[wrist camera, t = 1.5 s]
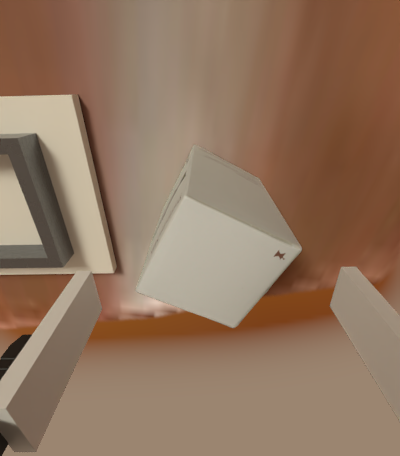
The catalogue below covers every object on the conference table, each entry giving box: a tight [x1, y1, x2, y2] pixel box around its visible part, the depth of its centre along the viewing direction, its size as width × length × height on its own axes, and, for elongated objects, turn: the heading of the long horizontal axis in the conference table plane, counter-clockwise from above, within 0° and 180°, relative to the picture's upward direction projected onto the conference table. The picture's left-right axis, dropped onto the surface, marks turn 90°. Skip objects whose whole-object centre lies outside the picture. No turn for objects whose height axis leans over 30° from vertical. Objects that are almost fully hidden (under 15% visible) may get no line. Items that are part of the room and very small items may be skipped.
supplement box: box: [136, 145, 302, 328], centre depth 20 cm, size 7×7×13 cm
